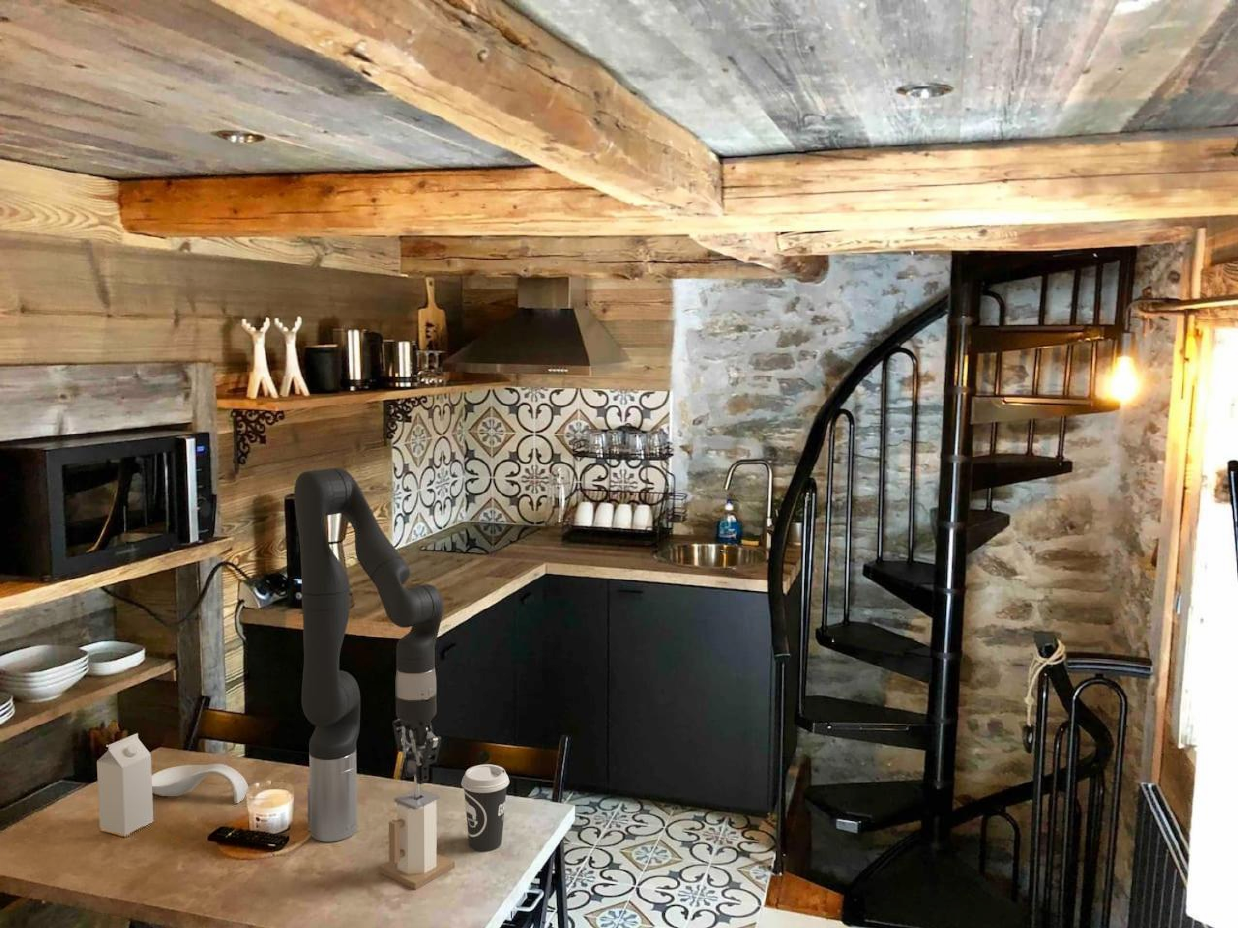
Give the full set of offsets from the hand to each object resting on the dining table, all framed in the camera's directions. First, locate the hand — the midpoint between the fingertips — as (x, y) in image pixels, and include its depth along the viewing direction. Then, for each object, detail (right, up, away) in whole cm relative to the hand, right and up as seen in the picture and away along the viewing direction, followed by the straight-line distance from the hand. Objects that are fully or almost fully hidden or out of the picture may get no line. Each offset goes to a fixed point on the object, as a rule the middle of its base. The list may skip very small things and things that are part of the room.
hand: (416, 778), depth 187 cm
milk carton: (-63, -16, +17) cm, 68 cm away
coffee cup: (+11, -17, +13) cm, 24 cm away
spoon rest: (-56, -14, +33) cm, 66 cm away
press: (0, -18, +2) cm, 18 cm away
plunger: (0, -10, +1) cm, 10 cm away
